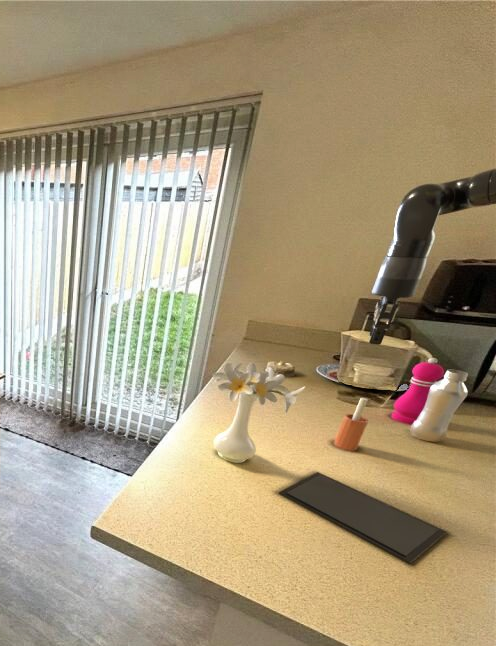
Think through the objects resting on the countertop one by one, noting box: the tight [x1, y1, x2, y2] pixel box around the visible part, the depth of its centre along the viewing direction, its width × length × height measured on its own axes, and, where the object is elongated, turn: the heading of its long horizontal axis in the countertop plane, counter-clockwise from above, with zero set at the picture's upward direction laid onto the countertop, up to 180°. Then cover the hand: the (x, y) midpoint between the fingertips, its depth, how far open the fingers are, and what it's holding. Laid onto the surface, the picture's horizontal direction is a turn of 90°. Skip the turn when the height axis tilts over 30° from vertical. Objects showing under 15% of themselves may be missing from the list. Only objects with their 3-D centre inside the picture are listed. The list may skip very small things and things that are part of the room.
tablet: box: [278, 471, 448, 565], centre depth 82 cm, size 22×16×1 cm
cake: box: [264, 360, 296, 378], centre depth 153 cm, size 10×10×5 cm
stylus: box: [352, 397, 368, 421], centre depth 102 cm, size 1×1×14 cm
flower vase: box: [211, 362, 307, 464], centre depth 97 cm, size 13×18×25 cm
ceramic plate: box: [316, 363, 408, 392], centre depth 144 cm, size 26×26×3 cm
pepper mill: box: [391, 357, 445, 425], centre depth 114 cm, size 7×7×20 cm
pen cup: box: [333, 413, 369, 452], centre depth 103 cm, size 5×5×9 cm
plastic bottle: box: [409, 368, 469, 443], centre depth 104 cm, size 6×7×20 cm
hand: (374, 340), depth 101 cm, fingers open, 8 cm apart
